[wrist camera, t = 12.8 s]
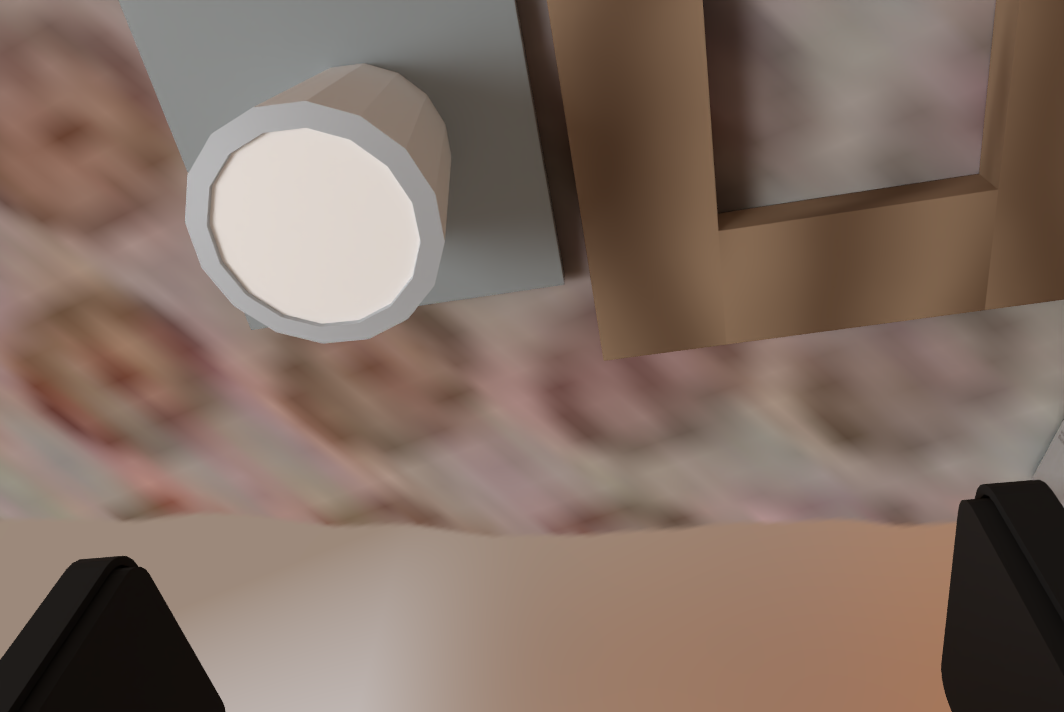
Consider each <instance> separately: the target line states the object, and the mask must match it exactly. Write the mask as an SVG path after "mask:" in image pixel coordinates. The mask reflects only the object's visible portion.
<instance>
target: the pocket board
mask: <svg viewBox="0 0 1064 712" xmlns="http://www.w3.org/2000/svg"><path fill="white" fill-rule="evenodd" d="M547 5H548V11H549V18H550V24H551V30H552V37H553V43H554V49H555V56H556V62H557V68H558V75H559V81H560V87H561V94H562V100H563V106H564V113H565V119H566V125H567V132H568V138H569V144H570V151H571V157H572V163H573V170H574V176H575V182H576V189H577V195H578V201H579V208H580V214H581V220H582V227H583V233H584V239H585V246H586V252H587V258H588V265H589V271H590V277H591V284H592V290H593V296H594V303H595V309H596V315H597V322H598V328H599V334H600V341H601V347H602V353H603V360H604V361H606V360H613V359H621V358H628V357H636V356H643V355H651V354H658V353H666V352H673V351H681V350H688V349H696V348H703V347H711V346H718V345H726V344H733V343H741V342H748V341H756V340H763V339H771V338H778V337H786V336H793V335H801V334H808V333H816V332H823V331H831V330H838V329H846V328H853V327H861V326H868V325H876V324H883V323H891V322H899V321H906V320H914V319H921V318H929V317H936V316H944V315H951V314H959V313H966V312H974V311H981V310H989V309H996V308H1004V307H1011V306H1019V305H1026V304H1034V303H1041V302H1049V301H1056V300H1064V0H996V8H995V18H994V28H993V38H992V48H991V58H990V68H989V78H988V88H987V99H986V109H985V119H984V129H983V139H982V149H981V159H980V169H979V174H975V175H968V176H962V177H955V178H948V179H942V180H935V181H929V182H922V183H916V184H909V185H902V186H896V187H889V188H883V189H876V190H869V191H863V192H856V193H850V194H843V195H836V196H830V197H823V198H817V199H810V200H804V201H797V202H790V203H784V204H777V205H771V206H764V207H757V208H751V209H744V210H738V211H731V212H724V213H718V214H717V202H716V188H715V173H714V159H713V144H712V130H711V115H710V101H709V86H708V71H707V57H706V42H705V28H704V13H703V0H547Z"/></svg>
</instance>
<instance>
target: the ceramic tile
mask: <svg viewBox="0 0 1064 712" xmlns="http://www.w3.org/2000/svg"><path fill="white" fill-rule="evenodd" d="M119 3H120V5H121V8H122V10H123V13H124V15H125V18H126V20H127V23H128V25H129V28H130V30H131V33H132V35H133V38H134V40H135V43H136V45H137V47H138V50H139V52H140V55H141V57H142V60H143V62H144V65H145V67H146V70H147V72H148V75H149V77H150V80H151V82H152V85H153V87H154V90H155V92H156V95H157V97H158V100H159V102H160V105H161V107H162V110H163V112H164V115H165V117H166V119H167V122H168V124H169V127H170V129H171V132H172V134H173V137H174V139H175V142H176V144H177V147H178V149H179V152H180V154H181V157H182V159H183V162H184V164H185V167H186V169H187V172H188V173H189V171H190V170H191V168H192V166H193V164H194V163H195V161H196V159H197V158H198V156H199V154H200V152H201V151H202V149H203V147H204V145H205V144H206V142H207V140H208V138H209V137H210V135H211V134H212V133H213V132H215V131H216V130H218V129H220V128H221V127H223V126H224V125H226V124H227V123H229V122H231V121H232V120H234V119H235V118H237V117H238V116H240V115H242V114H243V113H245V112H246V111H248V110H249V109H251V108H252V107H254V106H256V105H258V104H260V103H262V102H264V101H266V100H268V99H270V98H272V97H274V96H276V95H278V94H280V93H282V92H284V91H286V90H288V89H290V88H292V87H293V86H295V85H297V84H299V83H301V82H303V81H305V80H307V79H309V78H311V77H313V76H315V75H317V74H319V73H321V72H323V71H325V70H327V69H329V68H331V67H339V66H347V65H355V64H362V63H365V64H368V65H372V66H375V67H379V68H383V69H386V70H390V71H393V72H397V73H399V74H400V75H402V76H403V77H404V78H406V79H407V80H408V81H410V82H411V83H412V84H414V85H415V86H416V87H417V88H419V89H420V90H421V91H423V92H424V93H425V94H427V96H428V97H429V99H430V100H431V102H432V104H433V105H434V107H435V108H436V110H437V112H438V113H439V115H440V116H441V118H442V120H443V121H444V123H445V125H446V130H447V136H448V141H449V147H450V152H451V168H450V181H449V194H448V207H447V220H446V233H445V243H444V247H443V252H442V256H441V260H440V264H439V269H438V273H437V277H436V281H435V286H434V287H433V288H432V289H431V291H430V292H429V293H428V294H427V296H426V297H425V298H424V299H423V301H422V302H421V303H420V304H419V306H420V305H427V304H434V303H441V302H448V301H454V300H461V299H468V298H475V297H482V296H489V295H496V294H503V293H510V292H517V291H523V290H530V289H537V288H544V287H551V286H558V285H564V269H563V264H562V258H561V252H560V247H559V241H558V235H557V230H556V224H555V218H554V212H553V207H552V201H551V195H550V190H549V184H548V178H547V172H546V167H545V161H544V155H543V150H542V144H541V138H540V133H539V127H538V121H537V115H536V110H535V104H534V98H533V93H532V87H531V81H530V75H529V70H528V64H527V58H526V53H525V47H524V41H523V36H522V30H521V24H520V18H519V13H518V7H517V1H516V0H119ZM244 313H245V312H244ZM245 316H246V318H247V321H248V323H249V326H250V328H251V330H254V329H261V328H268V327H267V326H266V325H264V324H262V323H261V322H259V321H258V320H256V319H254V318H253V317H251V316H249V315H248V314H246V313H245Z"/></svg>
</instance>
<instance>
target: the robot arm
mask: <svg viewBox="0 0 1064 712" xmlns="http://www.w3.org/2000/svg"><path fill="white" fill-rule="evenodd" d="M941 672H942V681H943V686H944V690H945V694H946V697H947V700H948V703H949V706H950V708H951V711H952V712H1064V507H1063V505H1062V504H1061V503H1060V501H1059V500H1058V498H1057V497H1056V495H1055V494H1054V492H1053V491H1052V489H1051V488H1050V487H1049V486H1048V485H1047V484H1046V483H1045V482H1043V481H1041V480H1028V481H1016V482H1004V483H992V484H983V485H980V486H979V488H978V489H977V492H976V496H975V499H970V500H962V501H961V503H960V504H959V509H958V517H957V526H956V536H955V545H954V554H953V563H952V572H951V581H950V590H949V600H948V609H947V618H946V627H945V636H944V645H943V654H942V663H941ZM0 712H225V707H224V704H223V702H222V700H221V698H220V696H219V695H218V693H217V691H216V690H215V688H214V686H213V684H212V682H211V681H210V679H209V677H208V676H207V674H206V672H205V670H204V669H203V667H202V665H201V663H200V662H199V660H198V658H197V656H196V654H195V653H194V651H193V649H192V648H191V646H190V644H189V642H188V641H187V639H186V637H185V635H184V634H183V632H182V630H181V628H180V627H179V625H178V623H177V621H176V620H175V618H174V616H173V614H172V613H171V611H170V609H169V608H168V606H167V604H166V602H165V600H164V599H163V597H162V595H161V594H160V592H159V590H158V588H157V586H156V585H155V583H154V581H153V580H152V578H151V576H150V574H149V573H148V572H147V570H146V569H144V568H142V567H138V565H137V564H136V563H135V562H134V560H132V559H131V558H129V557H127V556H116V557H105V558H92V559H80V560H78V561H76V562H74V563H72V564H71V565H70V566H69V567H68V569H66V571H65V572H64V573H63V575H62V576H61V578H60V579H59V580H58V582H57V583H56V584H55V586H54V587H53V588H52V590H51V591H50V593H49V594H48V595H47V597H46V598H45V599H44V601H43V602H42V603H41V605H40V606H39V608H38V609H37V610H36V612H35V613H34V615H33V616H32V617H31V619H30V620H29V621H28V623H27V624H26V625H25V627H24V628H23V630H22V631H21V632H20V634H19V635H18V636H17V638H16V639H15V641H14V642H13V643H12V645H11V646H10V647H9V649H8V650H7V651H6V653H5V654H4V656H3V657H2V658H1V660H0Z"/></svg>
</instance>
